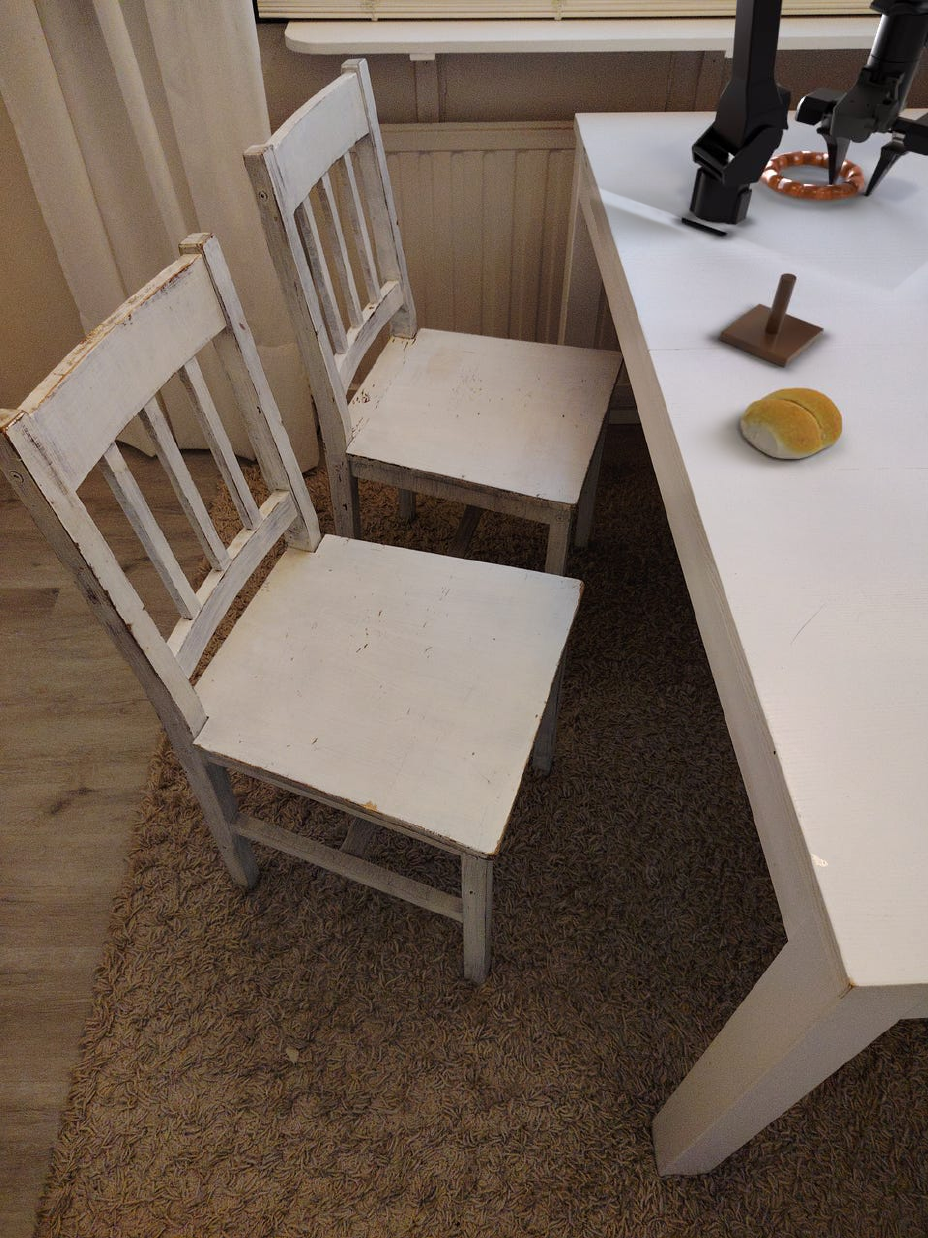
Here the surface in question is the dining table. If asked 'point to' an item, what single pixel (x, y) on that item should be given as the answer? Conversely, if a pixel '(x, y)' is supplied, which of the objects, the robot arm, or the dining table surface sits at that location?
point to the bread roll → (792, 423)
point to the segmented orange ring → (806, 191)
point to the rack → (773, 329)
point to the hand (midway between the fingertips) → (849, 190)
